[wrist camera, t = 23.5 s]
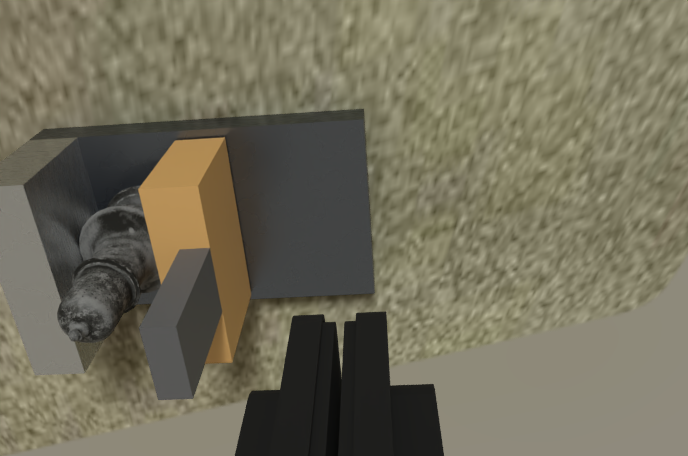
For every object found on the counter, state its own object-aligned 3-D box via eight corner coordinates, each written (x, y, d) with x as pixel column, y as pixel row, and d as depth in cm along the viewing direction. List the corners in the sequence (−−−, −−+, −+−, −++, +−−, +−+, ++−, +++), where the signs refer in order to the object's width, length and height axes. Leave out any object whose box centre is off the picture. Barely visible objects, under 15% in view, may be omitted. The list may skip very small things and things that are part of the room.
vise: (92, 290, 46) (35, 375, 38) (43, 129, 41) (-35, 188, 33) (374, 277, 45) (376, 361, 37) (363, 108, 39) (363, 165, 31)
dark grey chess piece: (154, 279, 43) (85, 407, 33) (82, 221, 41) (-16, 337, 31) (212, 226, 41) (159, 344, 31) (139, 162, 39) (56, 264, 29)
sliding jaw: (206, 296, 43) (144, 456, 31) (174, 140, 38) (85, 258, 26) (251, 294, 43) (206, 454, 31) (224, 137, 38) (159, 255, 26)
